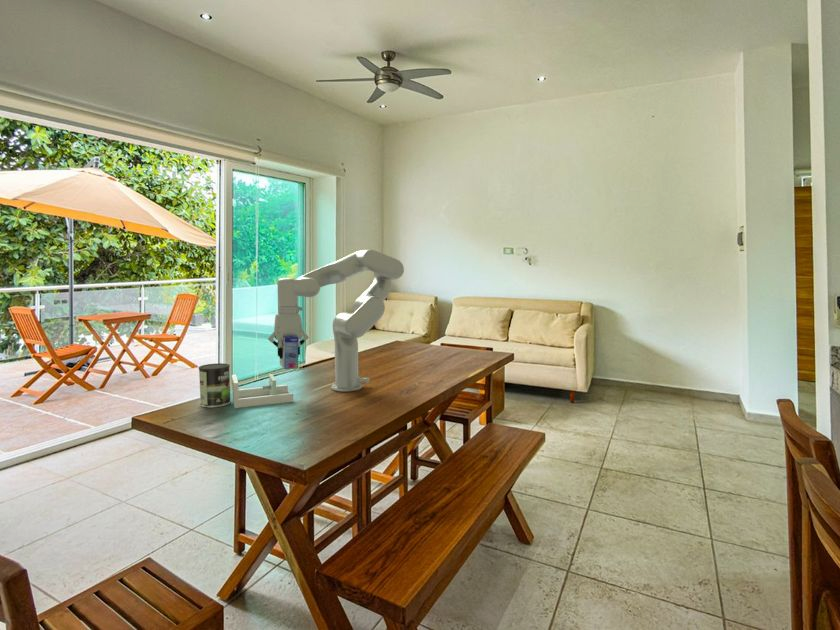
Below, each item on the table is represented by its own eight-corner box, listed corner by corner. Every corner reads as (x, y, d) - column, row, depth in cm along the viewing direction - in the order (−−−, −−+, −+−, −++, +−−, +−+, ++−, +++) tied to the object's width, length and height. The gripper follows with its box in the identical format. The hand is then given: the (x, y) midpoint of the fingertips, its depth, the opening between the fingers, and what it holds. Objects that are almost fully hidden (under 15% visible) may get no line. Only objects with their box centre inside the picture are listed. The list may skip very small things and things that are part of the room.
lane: (287, 392, 185) (286, 370, 184) (293, 401, 172) (292, 377, 171) (232, 397, 176) (231, 374, 176) (234, 408, 163) (233, 383, 163)
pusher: (272, 393, 181) (272, 374, 180) (276, 401, 171) (275, 380, 170) (261, 395, 179) (260, 375, 179) (264, 402, 169) (264, 381, 168)
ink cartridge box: (299, 368, 174) (298, 330, 173) (284, 369, 172) (283, 331, 170) (293, 363, 183) (293, 327, 181) (279, 364, 180) (278, 328, 179)
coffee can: (236, 400, 173) (235, 363, 171) (219, 408, 163) (218, 369, 161) (212, 399, 175) (210, 362, 173) (193, 406, 165) (192, 368, 163)
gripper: (308, 309, 182) (309, 354, 184) (263, 310, 175) (264, 357, 177) (312, 310, 175) (313, 357, 177) (265, 312, 168) (266, 360, 170)
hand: (288, 356), depth 177 cm, fingers closed on ink cartridge box, 5 cm apart
